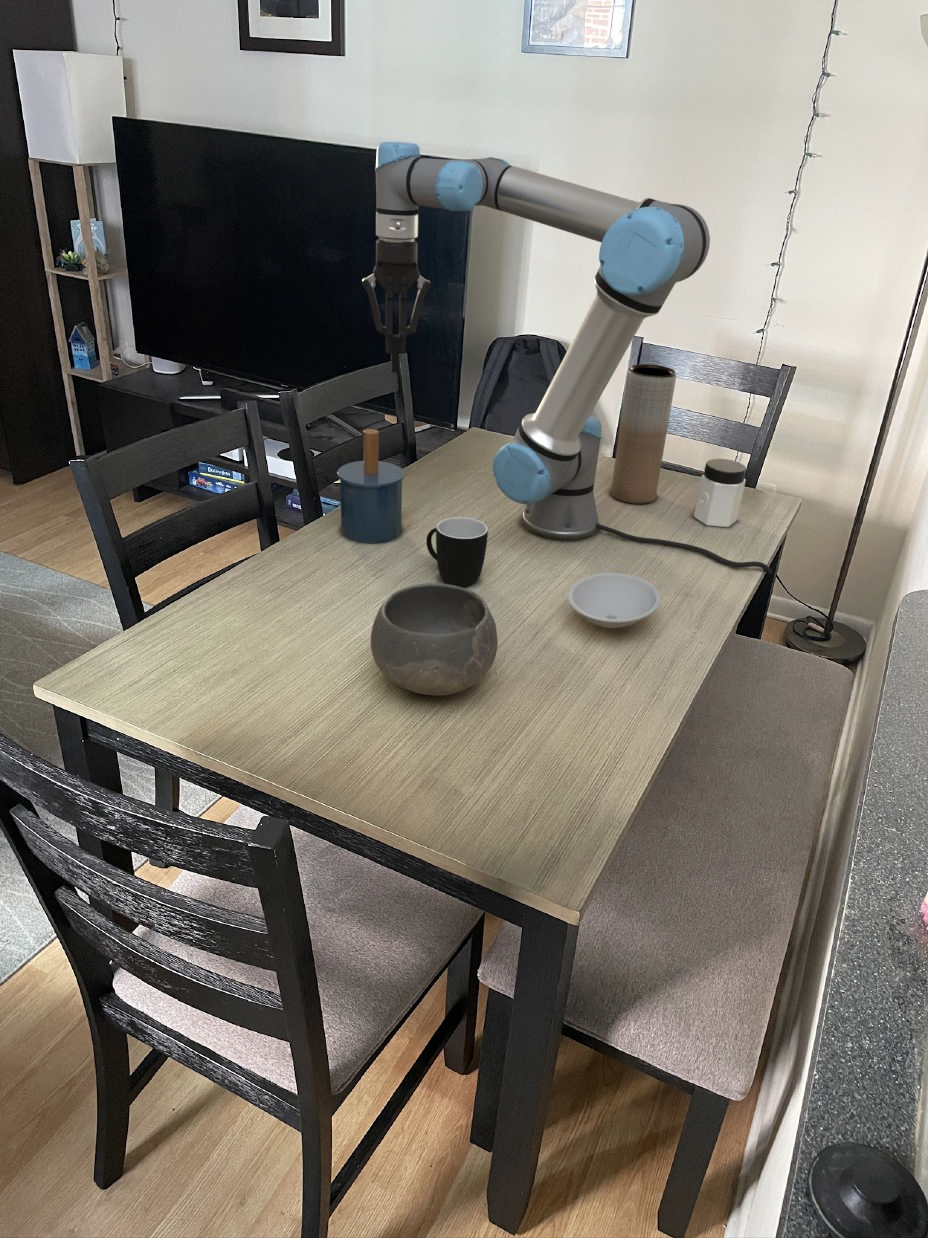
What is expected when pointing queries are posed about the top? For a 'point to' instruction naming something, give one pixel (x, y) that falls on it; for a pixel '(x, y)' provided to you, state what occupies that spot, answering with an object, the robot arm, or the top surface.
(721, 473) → the jar
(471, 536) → the mug
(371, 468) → the lid
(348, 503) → the blue cylindrical container
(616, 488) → the vase
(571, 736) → the top surface
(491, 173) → the robot arm
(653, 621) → the top surface
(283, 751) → the top surface
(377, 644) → the bowl
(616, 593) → the dish
